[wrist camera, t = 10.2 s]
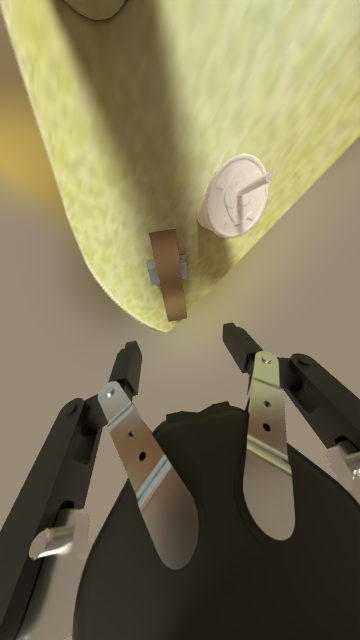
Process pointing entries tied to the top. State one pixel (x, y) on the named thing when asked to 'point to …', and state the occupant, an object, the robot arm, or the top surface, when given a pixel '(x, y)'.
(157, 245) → the walnut bar
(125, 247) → the top surface
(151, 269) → the block
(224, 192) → the smoothie
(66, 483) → the robot arm
